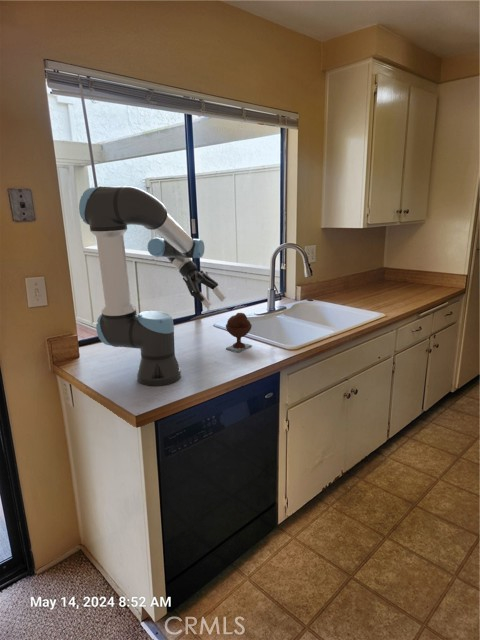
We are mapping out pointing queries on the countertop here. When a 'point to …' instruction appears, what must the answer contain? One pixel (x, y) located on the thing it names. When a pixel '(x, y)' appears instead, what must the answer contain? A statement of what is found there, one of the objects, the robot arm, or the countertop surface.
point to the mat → (238, 348)
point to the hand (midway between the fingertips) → (216, 302)
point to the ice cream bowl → (238, 328)
